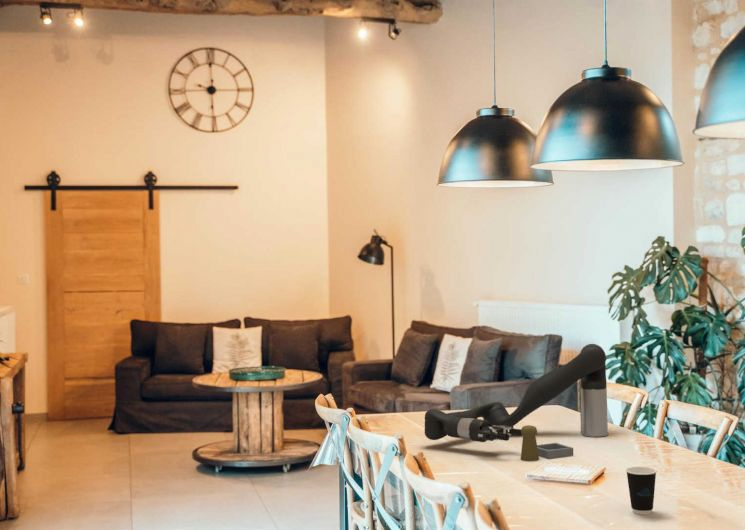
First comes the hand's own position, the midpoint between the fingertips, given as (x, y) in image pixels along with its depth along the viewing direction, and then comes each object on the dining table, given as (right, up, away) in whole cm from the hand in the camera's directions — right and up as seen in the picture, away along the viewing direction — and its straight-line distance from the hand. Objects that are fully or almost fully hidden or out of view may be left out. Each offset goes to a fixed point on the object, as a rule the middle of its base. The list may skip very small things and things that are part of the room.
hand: (515, 435), depth 317 cm
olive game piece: (+5, -8, -3) cm, 9 cm away
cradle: (+13, -7, +3) cm, 15 cm away
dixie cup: (+23, -8, -69) cm, 73 cm away
